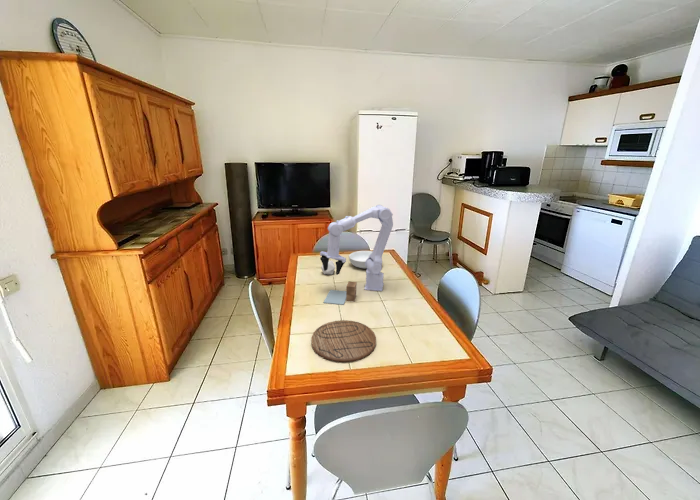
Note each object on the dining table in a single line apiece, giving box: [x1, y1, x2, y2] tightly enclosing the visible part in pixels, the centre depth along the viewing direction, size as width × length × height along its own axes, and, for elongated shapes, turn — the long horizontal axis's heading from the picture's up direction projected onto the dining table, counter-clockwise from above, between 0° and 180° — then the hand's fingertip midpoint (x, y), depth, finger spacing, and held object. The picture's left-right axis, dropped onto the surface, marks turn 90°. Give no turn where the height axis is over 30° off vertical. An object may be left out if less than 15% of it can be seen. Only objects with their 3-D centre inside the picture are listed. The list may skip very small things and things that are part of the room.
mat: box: [323, 289, 347, 306], centre depth 151 cm, size 10×14×1 cm
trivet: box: [310, 319, 377, 364], centre depth 117 cm, size 25×25×2 cm
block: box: [345, 281, 358, 303], centre depth 149 cm, size 4×6×8 cm, turn 170°
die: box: [320, 260, 336, 276], centre depth 179 cm, size 8×9×10 cm
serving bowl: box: [348, 250, 373, 269], centre depth 192 cm, size 21×21×7 cm
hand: (331, 272), depth 154 cm, fingers open, 7 cm apart
